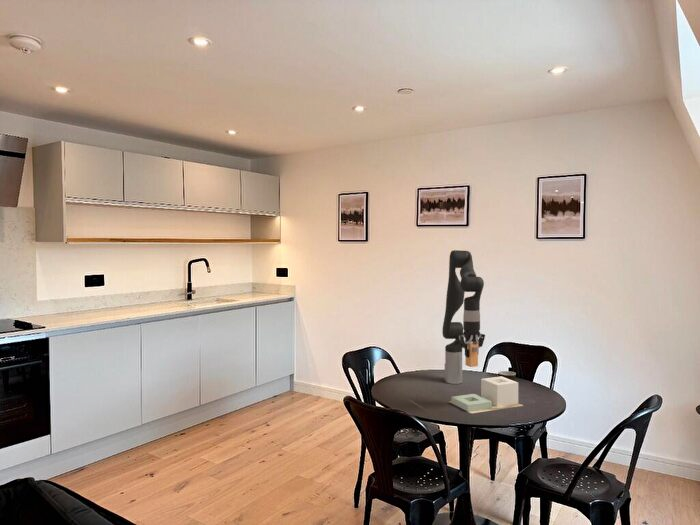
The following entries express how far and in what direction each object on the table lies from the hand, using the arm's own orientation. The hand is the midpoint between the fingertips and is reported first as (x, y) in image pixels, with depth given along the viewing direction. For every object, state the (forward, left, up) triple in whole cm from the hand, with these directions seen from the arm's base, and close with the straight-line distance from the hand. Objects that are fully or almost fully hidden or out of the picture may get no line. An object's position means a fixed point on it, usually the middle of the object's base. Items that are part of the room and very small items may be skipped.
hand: (471, 356), depth 222 cm
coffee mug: (-14, +30, -24) cm, 41 cm away
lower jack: (0, 0, -23) cm, 23 cm away
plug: (0, 0, -4) cm, 4 cm away
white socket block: (0, +16, -23) cm, 28 cm away
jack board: (0, +8, -24) cm, 25 cm away
